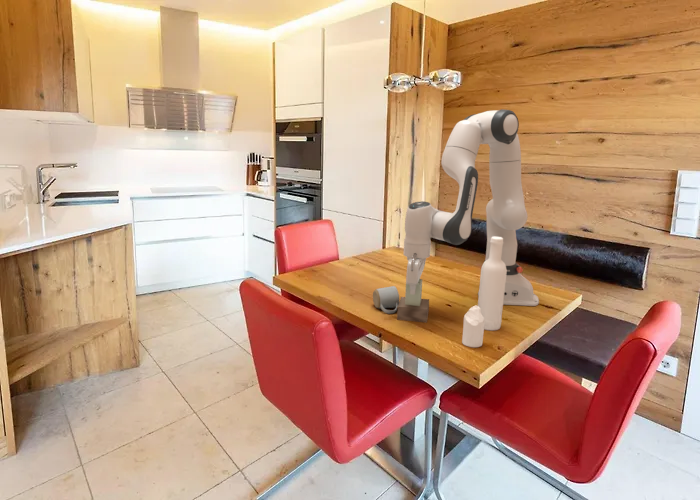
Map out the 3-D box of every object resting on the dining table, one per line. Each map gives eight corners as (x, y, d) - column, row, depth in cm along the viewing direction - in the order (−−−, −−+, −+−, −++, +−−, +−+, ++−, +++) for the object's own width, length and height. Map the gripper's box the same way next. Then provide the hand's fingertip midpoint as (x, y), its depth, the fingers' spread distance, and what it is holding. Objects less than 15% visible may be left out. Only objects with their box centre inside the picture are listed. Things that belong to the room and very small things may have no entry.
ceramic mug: (371, 304, 159) (372, 284, 157) (391, 302, 161) (392, 283, 159) (381, 315, 149) (382, 295, 147) (402, 313, 151) (404, 293, 149)
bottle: (479, 330, 138) (488, 240, 131) (472, 320, 145) (480, 234, 138) (504, 331, 138) (514, 240, 131) (496, 321, 145) (505, 235, 138)
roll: (465, 308, 124) (464, 301, 129) (462, 346, 127) (461, 338, 132) (486, 310, 123) (485, 303, 128) (483, 348, 126) (481, 340, 131)
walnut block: (428, 312, 153) (429, 299, 152) (426, 323, 143) (427, 309, 142) (400, 309, 155) (401, 296, 154) (397, 320, 146) (397, 306, 144)
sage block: (421, 301, 150) (422, 279, 148) (419, 306, 145) (420, 283, 143) (407, 299, 151) (408, 278, 149) (404, 304, 146) (405, 282, 144)
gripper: (422, 258, 133) (420, 300, 136) (429, 244, 152) (427, 281, 155) (402, 257, 135) (400, 298, 138) (411, 243, 154) (409, 279, 157)
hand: (414, 289), depth 147 cm, fingers open, 8 cm apart
